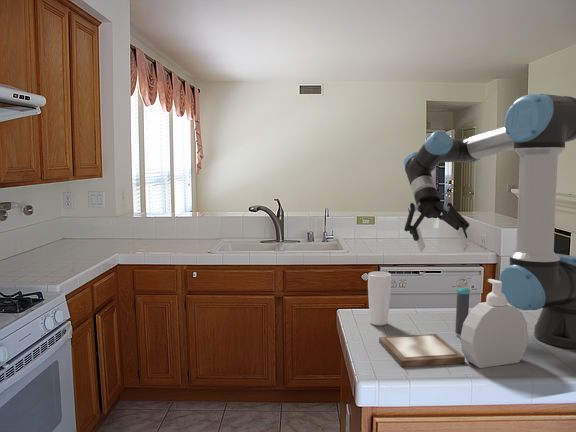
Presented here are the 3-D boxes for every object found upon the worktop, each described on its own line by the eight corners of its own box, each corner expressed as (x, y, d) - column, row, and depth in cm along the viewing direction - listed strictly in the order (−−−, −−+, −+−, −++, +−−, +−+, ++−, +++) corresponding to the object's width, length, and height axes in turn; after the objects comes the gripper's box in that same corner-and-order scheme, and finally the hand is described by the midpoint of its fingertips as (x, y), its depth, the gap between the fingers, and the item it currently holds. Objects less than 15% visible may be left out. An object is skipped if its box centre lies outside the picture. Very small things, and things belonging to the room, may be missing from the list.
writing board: (435, 339, 140) (435, 333, 139) (464, 362, 124) (464, 356, 124) (378, 342, 137) (379, 336, 137) (401, 366, 121) (401, 360, 121)
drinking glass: (390, 327, 149) (391, 277, 147) (366, 326, 150) (367, 275, 148) (390, 320, 155) (391, 271, 153) (367, 318, 157) (368, 270, 155)
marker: (463, 334, 144) (466, 287, 142) (469, 338, 141) (471, 290, 139) (453, 334, 143) (455, 287, 142) (458, 338, 140) (460, 291, 138)
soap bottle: (511, 353, 130) (516, 276, 127) (527, 361, 125) (532, 281, 122) (457, 361, 125) (461, 281, 123) (471, 370, 120) (475, 286, 118)
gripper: (457, 200, 170) (478, 254, 157) (385, 201, 166) (400, 256, 153) (466, 185, 164) (488, 240, 151) (391, 185, 160) (407, 241, 147)
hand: (444, 248), depth 152 cm, fingers open, 13 cm apart
